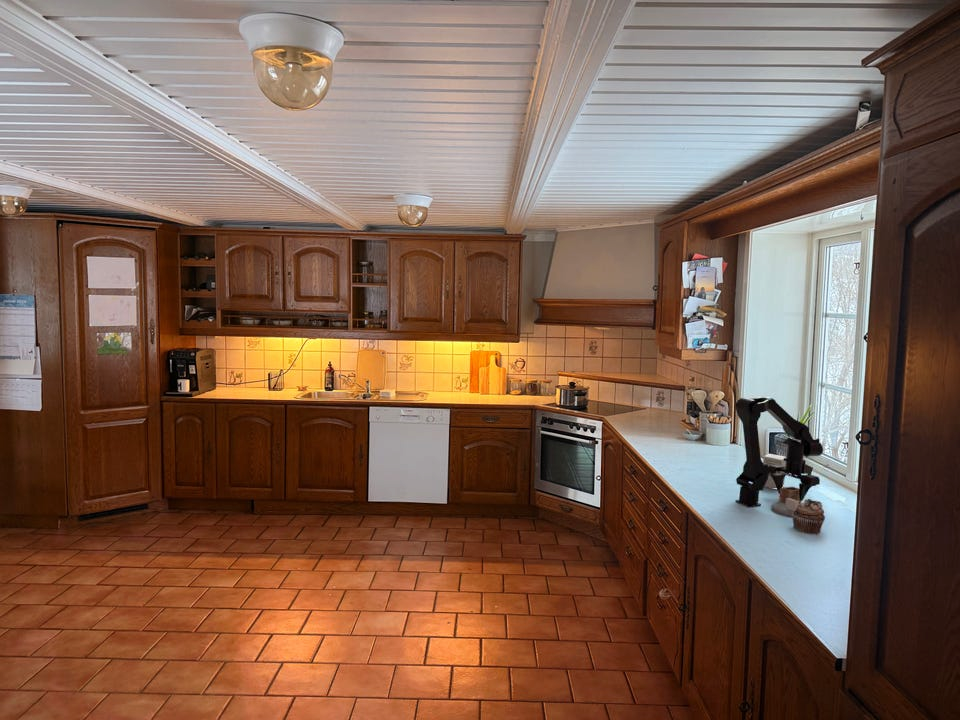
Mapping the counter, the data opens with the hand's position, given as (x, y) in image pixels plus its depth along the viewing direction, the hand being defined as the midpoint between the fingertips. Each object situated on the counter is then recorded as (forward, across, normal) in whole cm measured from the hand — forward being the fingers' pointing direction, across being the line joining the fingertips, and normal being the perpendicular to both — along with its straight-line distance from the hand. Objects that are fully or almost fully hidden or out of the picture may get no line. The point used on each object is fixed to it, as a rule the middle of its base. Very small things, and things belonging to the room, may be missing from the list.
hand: (790, 497), depth 248 cm
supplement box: (+2, +17, -11) cm, 20 cm away
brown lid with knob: (+2, -9, +11) cm, 14 cm away
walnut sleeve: (+2, 0, 0) cm, 2 cm away
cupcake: (+2, -24, +22) cm, 33 cm away
